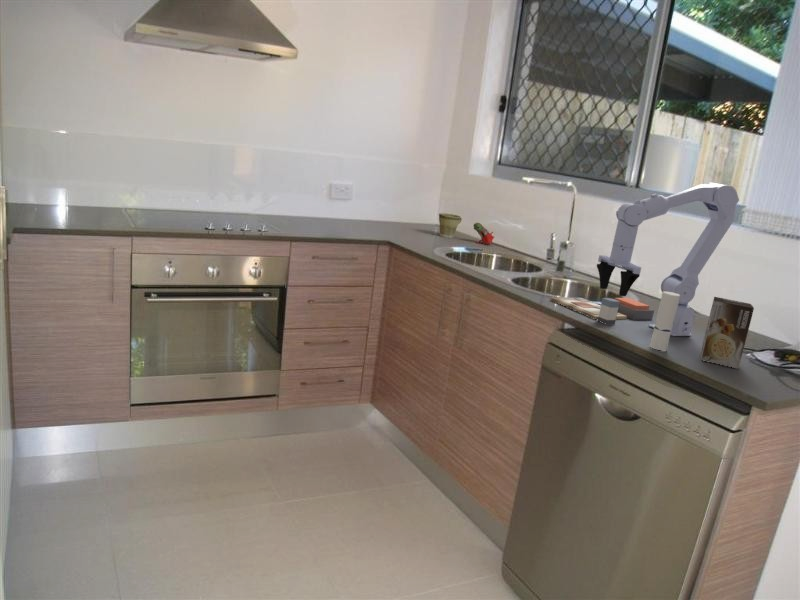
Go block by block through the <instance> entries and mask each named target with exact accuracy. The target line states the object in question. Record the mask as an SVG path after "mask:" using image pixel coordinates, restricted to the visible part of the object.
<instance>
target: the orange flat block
mask: <svg viewBox="0 0 800 600" xmlns="http://www.w3.org/2000/svg"><path fill="white" fill-rule="evenodd" d="M614 299H615V300H617V301H620V304H622V305H625V306H627V307H630V308H633V309H635V310H649V309H650V305H648V304H645V303H643V302H641V301H637V300H635V299H632V298H630V297H615V298H614Z"/></svg>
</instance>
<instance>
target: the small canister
mask: <svg viewBox="0 0 800 600" xmlns="http://www.w3.org/2000/svg"><path fill="white" fill-rule="evenodd" d="M600 304H601V308H600V312H599V317H598V321H601V322H603V323H606V324H615V325H616V322H617V321H616V320H617V319H616V316H617V311H618V308H619V304H620V301H617V300H615V298H611V297H602V299H601V302H600ZM598 321H597V322H598ZM601 322H600V323H601ZM603 323H602V324H603Z"/></svg>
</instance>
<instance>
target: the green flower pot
mask: <svg viewBox="0 0 800 600" xmlns="http://www.w3.org/2000/svg"><path fill="white" fill-rule="evenodd" d="M438 223H439V236H440V237H443V238H448V239H449V238H450V239H453V238H454V237H455V234H456V230H457V227H458V226H459V224H460V223H462V217H461V216H460V215H458V214H453V213H445V212H444V213H443V212H440V213H438Z"/></svg>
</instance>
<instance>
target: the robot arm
mask: <svg viewBox="0 0 800 600" xmlns="http://www.w3.org/2000/svg"><path fill="white" fill-rule="evenodd" d="M694 202H702V203H703V205H704V206H705V208H706V209H707V211H708V213H709V217H710V219H709V222H708V223H707V225H706V226H705V228H704V229H703V231H702V233H701V234H700V235H699V237H698V239H697V240H696V242H695V243H694V244H693V246H692V248H691V249H690V251H689V252H688V254H687V256H686V257H685V259H684V260H683V262H682V263H681V265H680V266H678V267H677V268H675V269H673V270H672V271H671V273H670V274H669V275H668V276H666V277H665V278H664V279H663V280H662V281H661V284H660V290H661V292H662V293H663V292H664V291H666V292H673V293H676V294H679V295H680V298H679V302H678V306H677V310H676V314H675V318H674V322H673V326H672V330H671V334H670V336H672V337H686V336H687V337H688V336H689V337H691V336H692V327H693V324H694V320H695V316H696V312H695V310H694V308H693V307H691V306H689V303H690V302H691V301H692V300H693V299H694V298H695V296H696V290H697V288H698V286H699V283H700V282H699V275H700V273H701V272H702V270H703V269H704V267H705V266H706V264H707V262H708V261H709V259H710V258H711V256H712V255H713V253H714V252H715V250H716V249H717V247H718V245H719V244H720V243H721V241H722V239H723V238H724V237H725V235H726V234H727V232H728V230H729V228H730V227H731V225H732V224H733V223H734V219H735V212H736V206H737V205H738V203H739V202H740V198H739V195H738V192H737V190H736V188H735V187H734V186H732V185H729V184H721V183H717V182H713V181H712V182H711V181H710V182H707V183H702V184H698V185H695V186H693V187H690V188H687V189H685V190H681V191H679V192H676V193H673V194H671V195H668V196H664V195H662V194H657V193H652V194H650V197H647V198H644V199H641V200H639V199H636V200H634V202H633V203H631V202H626V203H622V204H621V206H620V207H619V208H618V210H616V212H615V217H616V218H617V224H616V229H615V234H614V238H613V242H612V247H611V251H610V256H607V255H602V254H601V255H598V258H597V259H598V260H597V262H599V263H597V264H596V268H597V271H598V276H599V288H600V289H601V290H607V289H608V287H609V284H610V279H611V277H612V274H613V272H614V270H615V269H616V268H619V269H621V271H620V287H619V290H618V291H619V293H618V295H619V296H620V297H626V296H627V295H628V293H629V291H630V289H631V287H632V286H633V284H634V283H635V282H636V281H637V280H638V278H639V277H640V275H641V271H642V267H641V266H639V265H637V264H634V263H633V262H632V261H631V260H632V256H633V253H634V248H635V245H636V244H635V243H636V238H637V235H638V230H639V226H640V225H642V223H643V222H644V221H647V220H650V219H653V218H657V217H661V216H664V215H666V214H667V213H668V212H669V210H670V209H671V208H672V209H673V208H675V207H679V206H683V205H686V204H687V205H688V204H690V203H694ZM648 327H650V328H653V329H654V327H655V323H654V324H648Z"/></svg>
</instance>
